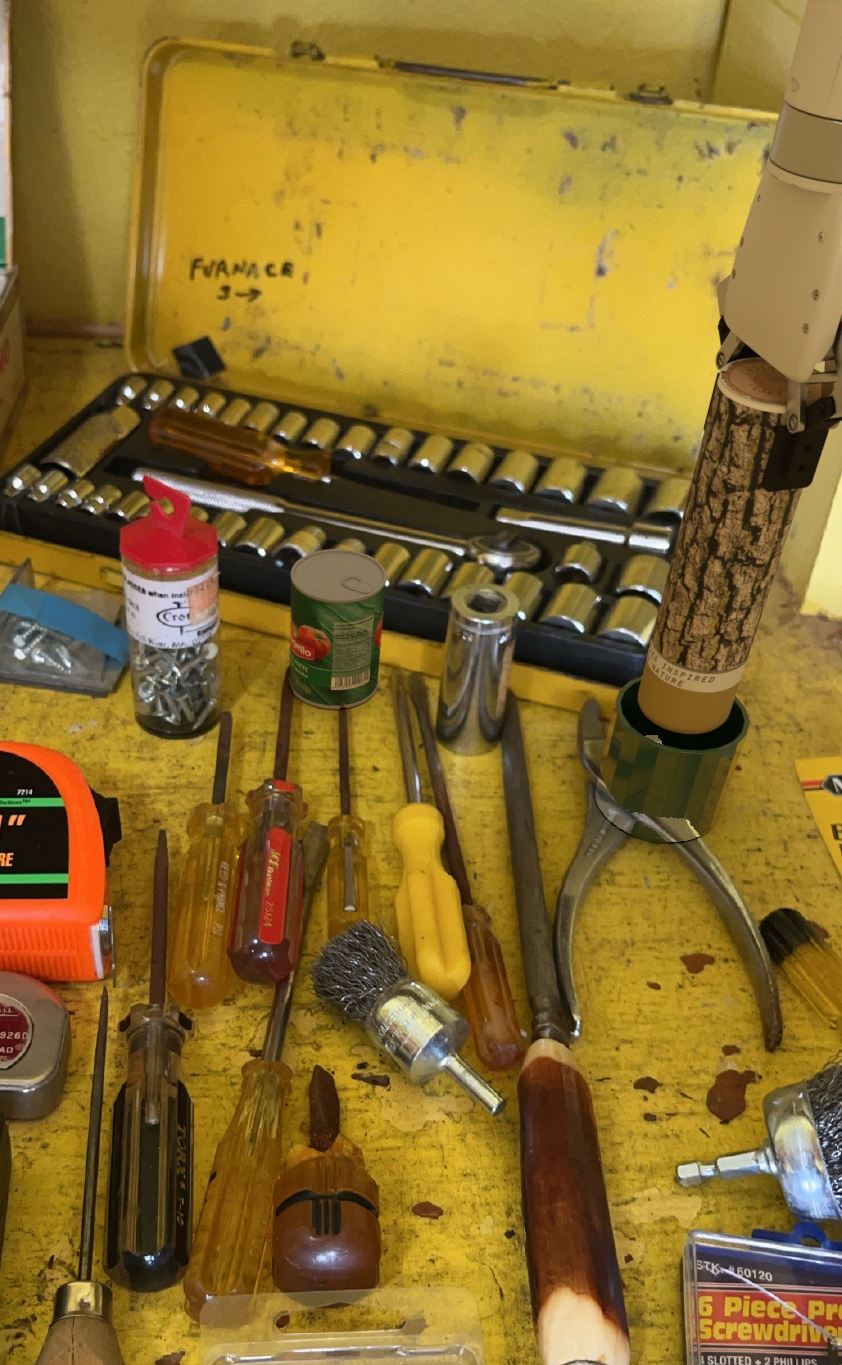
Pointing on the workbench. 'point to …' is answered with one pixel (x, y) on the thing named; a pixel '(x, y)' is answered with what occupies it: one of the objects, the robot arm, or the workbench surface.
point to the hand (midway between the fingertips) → (755, 456)
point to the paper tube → (721, 555)
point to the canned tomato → (336, 627)
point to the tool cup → (669, 765)
